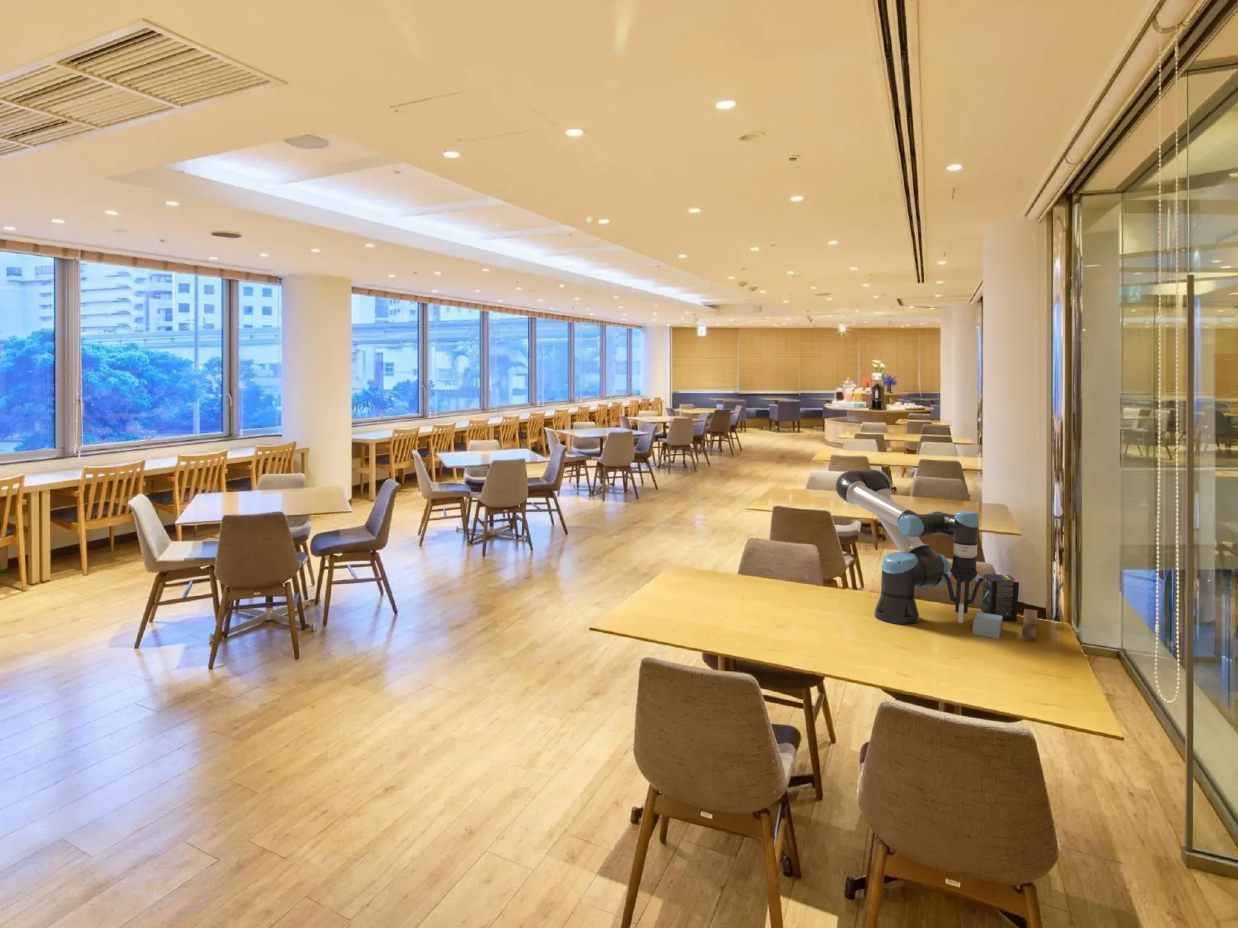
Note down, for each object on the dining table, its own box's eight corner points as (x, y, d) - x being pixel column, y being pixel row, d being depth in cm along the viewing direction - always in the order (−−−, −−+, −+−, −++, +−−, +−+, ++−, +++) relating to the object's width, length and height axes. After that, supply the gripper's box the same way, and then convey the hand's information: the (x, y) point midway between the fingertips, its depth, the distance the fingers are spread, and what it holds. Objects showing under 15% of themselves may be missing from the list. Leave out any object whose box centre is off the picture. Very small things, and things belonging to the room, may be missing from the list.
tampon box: (1017, 621, 264) (1020, 581, 262) (989, 619, 266) (992, 580, 264) (1007, 612, 275) (1010, 574, 273) (981, 610, 276) (983, 572, 275)
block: (972, 634, 249) (973, 620, 248) (976, 625, 259) (977, 611, 259) (998, 639, 245) (999, 625, 244) (1001, 629, 255) (1002, 615, 255)
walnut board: (1021, 639, 244) (1023, 622, 244) (1022, 625, 260) (1024, 608, 259) (1035, 641, 242) (1036, 624, 242) (1035, 627, 258) (1037, 610, 257)
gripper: (943, 555, 254) (939, 621, 256) (984, 559, 247) (980, 627, 249) (945, 551, 260) (941, 615, 262) (986, 555, 254) (982, 622, 256)
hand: (960, 621), depth 256 cm, fingers closed
